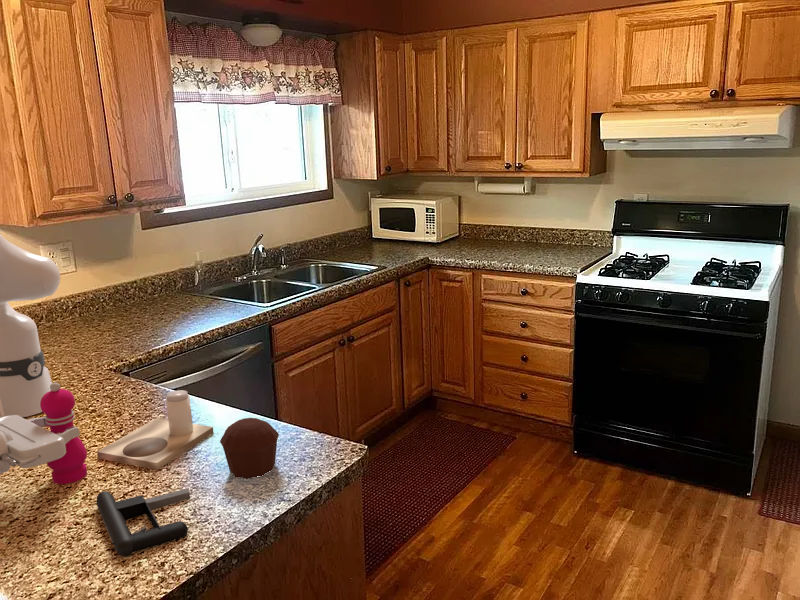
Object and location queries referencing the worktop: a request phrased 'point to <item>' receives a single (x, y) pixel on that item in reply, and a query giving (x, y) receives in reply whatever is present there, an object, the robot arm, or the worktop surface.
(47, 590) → the worktop surface
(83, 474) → the pepper mill
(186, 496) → the door handle
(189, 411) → the salt shaker
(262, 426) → the muffin
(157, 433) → the condiment board
